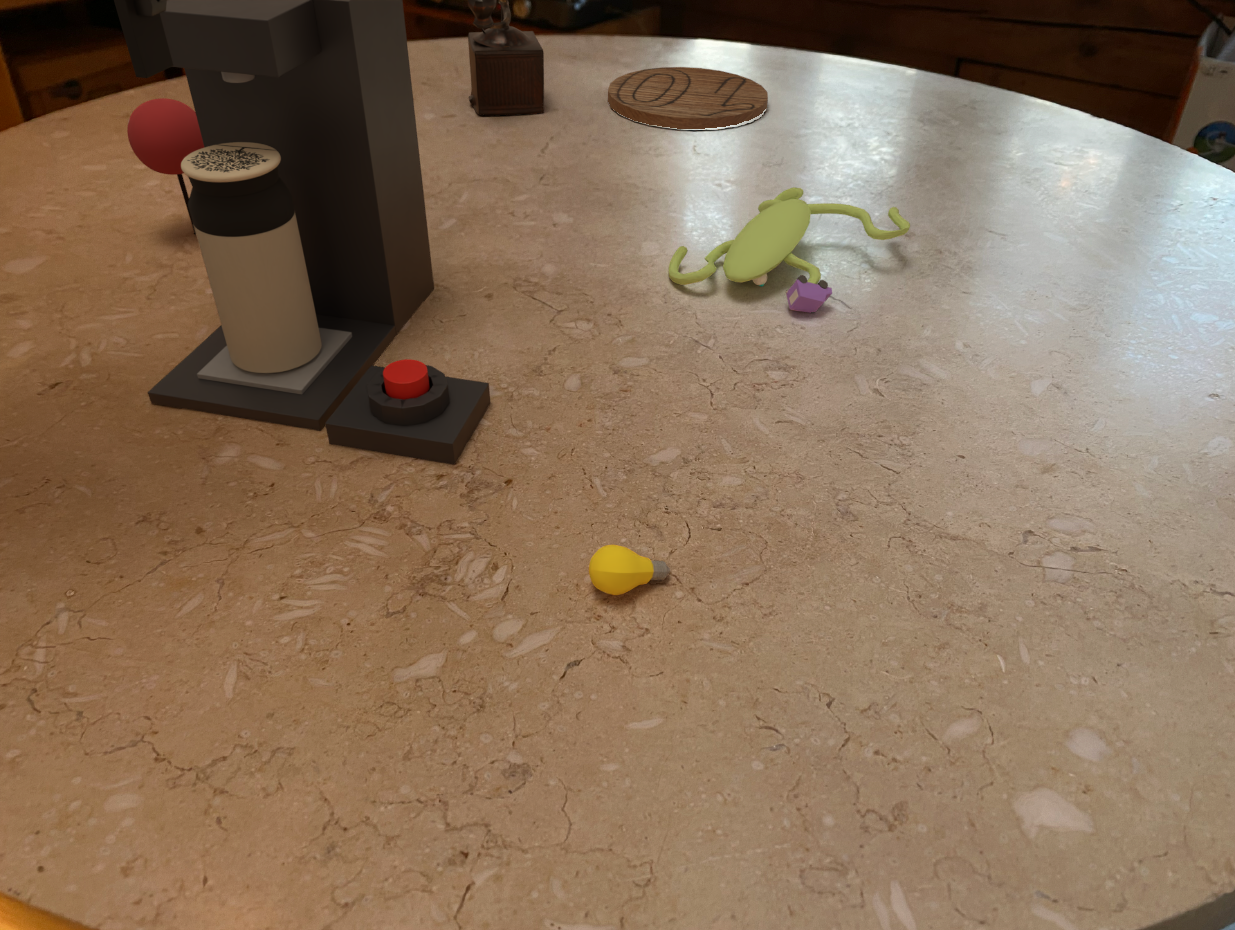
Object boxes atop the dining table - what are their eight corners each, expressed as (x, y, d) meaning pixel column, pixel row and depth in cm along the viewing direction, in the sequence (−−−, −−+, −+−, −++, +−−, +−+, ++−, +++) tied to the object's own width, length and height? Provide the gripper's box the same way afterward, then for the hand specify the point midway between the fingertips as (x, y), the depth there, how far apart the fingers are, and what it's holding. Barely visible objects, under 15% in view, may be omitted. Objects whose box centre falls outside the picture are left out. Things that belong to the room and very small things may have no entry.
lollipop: (203, 214, 112) (168, 84, 102) (244, 231, 108) (212, 99, 99) (145, 236, 107) (103, 102, 98) (186, 255, 104) (147, 118, 94)
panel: (329, 444, 78) (320, 405, 75) (374, 385, 85) (368, 347, 82) (454, 465, 76) (450, 425, 74) (490, 403, 83) (487, 365, 80)
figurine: (920, 253, 108) (931, 207, 105) (793, 340, 93) (801, 289, 89) (785, 206, 118) (792, 162, 114) (649, 278, 102) (652, 230, 98)
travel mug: (289, 384, 82) (242, 184, 70) (212, 366, 83) (154, 168, 72) (339, 339, 87) (302, 148, 76) (265, 323, 89) (220, 135, 78)
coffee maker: (151, 403, 82) (22, 37, 63) (294, 269, 102) (229, -40, 83) (320, 431, 79) (239, 58, 60) (434, 288, 99) (399, -26, 80)
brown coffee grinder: (466, 95, 148) (456, -32, 137) (535, 92, 150) (532, -33, 139) (476, 129, 136) (467, -6, 125) (551, 125, 138) (549, -8, 127)
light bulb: (577, 581, 66) (586, 535, 65) (653, 582, 69) (663, 538, 68) (593, 603, 63) (603, 555, 62) (672, 604, 66) (683, 557, 65)
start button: (378, 397, 77) (375, 379, 76) (396, 374, 80) (393, 356, 79) (419, 403, 77) (417, 385, 75) (435, 379, 79) (434, 362, 78)
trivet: (774, 87, 155) (775, 75, 154) (757, 139, 136) (758, 125, 135) (627, 73, 159) (627, 61, 158) (590, 121, 140) (590, 108, 139)
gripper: (-382, -406, 45) (-160, 61, 58) (77, -405, 41) (203, 98, 54) (-237, -391, 50) (-65, 31, 64) (178, -389, 46) (270, 62, 60)
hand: (58, 62), depth 59 cm, fingers open, 13 cm apart
